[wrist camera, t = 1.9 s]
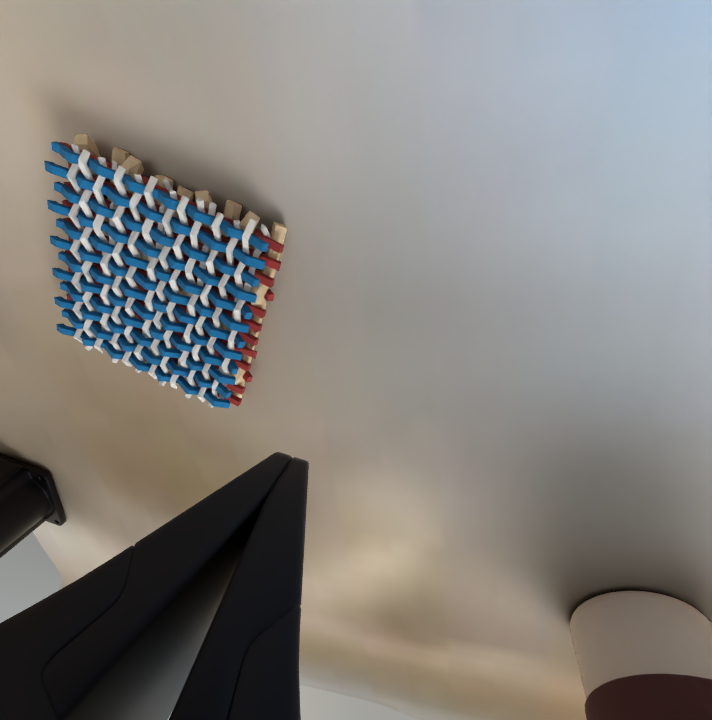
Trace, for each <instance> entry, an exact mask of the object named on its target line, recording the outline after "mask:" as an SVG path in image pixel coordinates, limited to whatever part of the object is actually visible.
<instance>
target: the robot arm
mask: <svg viewBox="0 0 712 720" xmlns="http://www.w3.org/2000/svg"><path fill="white" fill-rule="evenodd" d="M308 468H309V463H308V461H305V460H302V459H299V458H296V457H294V458H292V457H291V456H289V455H286V454H283V453H280V452H276V453H274V454H272V455H271V456H269V457H268V458H266V459H265V460H263V461H262V462H260V463H259V464H257V465H255V466H254V467H252V468H251V469H249V470H248V471H246V472H245V473H243V474H242V475H240V476H238V477H237V478H235V479H234V480H232V481H231V482H229V483H228V484H226V485H225V486H223V487H222V488H220V489H218V490H217V491H215V492H214V493H212V494H211V495H209V496H208V497H206V498H205V499H203V500H202V501H200V502H198V503H197V504H195V505H194V506H192V507H191V508H189V509H188V510H186V511H185V512H183V513H181V514H180V515H178V516H177V517H175V518H174V519H172V520H171V521H169V522H168V523H166V524H165V525H163V526H161V527H160V528H158V529H157V530H155V531H154V532H152V533H151V534H149V535H148V536H146V537H145V538H143V539H141V540H140V541H138V542H137V543H136V544H135V547H134V546H130V547H129V548H127V549H126V550H124V551H123V552H121V553H120V554H118V555H117V556H115V557H113V558H112V559H110V560H109V561H107V562H105V563H104V564H102V565H101V566H99V567H97V568H96V569H94V570H93V571H91V572H89V573H88V574H86V575H85V576H83V577H81V578H80V579H78V580H76V581H75V582H73V583H71V584H69V585H68V586H66V587H64V588H63V589H61V590H59V591H58V592H56V593H54V594H52V595H50V596H49V597H47V598H45V599H43V600H42V601H40V602H38V603H36V604H34V605H33V606H31V607H29V608H27V609H26V610H24V611H22V612H20V613H18V614H16V615H15V616H13V617H11V618H9V619H7V620H5V621H4V622H2V623H0V720H167V719H168V718H169V716H170V714H171V712H172V714H171V716H170V718H169V720H301V718H300V691H299V638H300V616H301V608H300V605H301V595H302V576H303V558H304V540H305V522H306V504H307V486H308ZM45 521H48V522H51V523H53V524H56V525H59V526H61V525H62V524H64V523H65V522H66V518H65V515H64V512H63V509H62V506H61V503H60V500H59V497H58V494H57V491H56V489H55V486H54V483H53V480H52V477H51V475H50V474H49V473H48V472H47V471H45V470H42V469H39V468H36V467H33V466H30V465H28V464H25V463H22V462H19V461H16V460H13V459H10V458H8V457H5V456H2V455H0V558H1V557H2V556H3V555H4V554H6V553H7V552H8V551H9V550H11V549H12V548H13V547H14V546H15V545H17V544H18V543H19V542H20V541H21V540H22V539H24V538H25V537H26V536H28V535H29V534H30V533H31V532H32V531H34V530H35V529H36V528H37V527H38V526H40V525H41V524H42V523H43V522H45ZM172 710H173V711H172Z"/></svg>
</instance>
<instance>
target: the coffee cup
mask: <svg viewBox="0 0 712 720" xmlns="http://www.w3.org/2000/svg"><path fill="white" fill-rule="evenodd" d="M570 632H571V636H572V640H573V644H574V649H575V653H576V657H577V661H578V665H579V669H580V674H581V678H582V682H583V686H584V690H585V694H586V699H587V700H586V703H585V712H586V718H587V720H712V624H711V622H710V621H709V620H708V619H707V618H706V617H705V616H704V615H703V614H702V613H700V612H699V611H698V610H697V609H695V608H694V607H692V606H690V605H689V604H687V603H685V602H683V601H680V600H678V599H676V598H673V597H670V596H666V595H662V594H658V593H652V592H645V591H619V592H611V593H607V594H602V595H598V596H596V597H594V598H591V599H589V600H587V601H585V602H584V603H583V604H581V605H580V606H579V607H578V608H577V609H576V610H575V611H574V613H573V615H572V617H571V621H570Z"/></svg>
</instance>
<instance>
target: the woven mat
mask: <svg viewBox="0 0 712 720" xmlns="http://www.w3.org/2000/svg"><path fill="white" fill-rule="evenodd" d="M51 144H52V150H53V151H55V152H57V153H59V154H60V155H61V156H62V157H63V158H64V159H65V160H67V161H68V168H69V169H68V168H65V167H62V166H59V165H56V164H55V163H53V162H48V161H44V162H45V170H46V171H48V172H50V173H52V174H54V175H57V176H60V177H63V178H66V179H69V181H70V182H64V184H63V183H60V182H55V183H54V190H55V191H58V192H60V193H61V194H62V195H63V196H64V197H65V198H66V199H67V200H63V201H62V203H63V204H59V203H58V202H56V201H52V200H47V202H48V209H50V210H52V211H54V212H56V213H59V214H62V215H65V216H68V217H70V218H63V219H61V218H59V219H56V226H57V227H59V228H61V229H63V230H64V231H65V232H66V233H67V235H68V236H69V241H68V240H64V239H61V238H59V237H58V236H50V241H51V244H53V245H54V246H56V247H59V248H62V249H66V251H65V252H63V251H61V252H60V253H58V257H59V259H60V260H62V261H64V262H66V264H67V265H68V267H69V272H67V271H63V270H62V269H60V268H52V270H53V275H54V276H55V277H57V278H59V279H63V280H66V281H67V282H66V281H63V282H61V283H60V289H62V290H65V291H67V293H68V294H67V300H66V299H64V298H63V297H54V298H55V304H57V305H58V306H60V307H63V308H65V309H64V310H63V311H62V316H63V317H66V318H68V319H69V321H70V322H71V324H72V325H73V326H74V328H73V327H68V326H66V325H64V324H56V325H57V330H58V331H59V332H60V333H62V334H65V335H70V336H74V337H73V338H75V339H77V340H78V341H80V342H81V343H83V345H87V346H86V348H85V349H87V350H89V351H90V350H91V348H92V347H93V346H94V347H95V348H96V349H98V350H99V351H100V352H101V353H103V352H102V349H101V348H105V350H106V351H107V352H108V354H109V355H110V356H111V358H112V359H113V360H112V362H114V363H117V361H118V360H119V359H122V361H123V362H124V363H125V364H126V365H127V366H132V365H131V363H132V364H133V365H134V367H135V368H136V370H135V372H137V373H141V371H147V372H148V374H150V375H151V376H152V377H153V378H154V379H158V381H160V382H159V384H160V385H162V386H164V385H165V383H166V382H170V385H171V387H172V388H176V389H177V385H176V383H178V384H179V385H180V386H181V388H182V389H183V390H184V391H185V392H186V393H187V394H186V395H185V397H187V398H189V399H190V397H191V395H197V397H198V398H199V399H200V400H201V401H202V402H204V401H205V398H206V399H207V400H208V401H209V404H208V406H209V407H213V406H214V407H222V408H229V405H230V403H232V404H234V405H236V406H239V405H240V403H241V400H242V399H241V398H242V395H243V392H244V390H245V387H244V385H245V381H246V382H250V381H251V380H252V375H251V374H250V372H249V371H248V370H249V369H250V367H251V364H250V363H251V359H252V358H254V359H255V357H256V354H257V351H254V348H255V345H257V342H258V339H259V338H257V337H258V334H259V331H260V330H261V327H262V324H261V323H262V319H263V317H264V316H265V313H266V310H265V308H266V300H267V301H273V298H274V294H273V293H272V291H271V290H270V289H269V287H272V286H273V283H274V275H275V271H276V270H277V271H279V268H280V265H281V261H279V257H280V253H282V251H283V247H284V245H283V242H284V239H285V235H286V231H287V227H286V226H285V225H283V224H280V223H277V222H274V223H273V227H272V230H271V234H269V232H268V229H267V227H266V226H264V225H263V224H262V225H261V230H262V232H263V233H262V232H260V231H259V230H258V229H257V228H256V227H257V224H258V222H259V220H260V217H258V216H257V215H255V214H254V213H252V212H251V211H249V212H248V213H247V214H246V216H245V217H244V218H243V220H242V221H241V222H240V220H239V218H240V214H241V209H242V206H241V205H240V204H239V203H236V202H234V201H230V200H226V204H225V209H224V213H223V214H222V213H219V212H218V213H216V212H215V211H216V206H217V205H216V204H215V203H213V201H212V199H211V197H210V195H209V192H208V190H206V191H195V196H196V203H195V202H193V201H192V200H193V196H194V192H191V191H189V190H187V189H185V188H183V187H181V186H178V189H177V192H176V191H174V190H173V180H172V179H170V178H168V177H167V176H162V175H156V176H155V177H153V176H151V177H150V179H148V178H147V177H146V176H143V175H141V174H142V173H143V172H144V169H143V166H142V163H141V161H139V160H138V159H136V158H135V157H133V156H131V155H130V156H129V152H127V151H124V150H122V149H119V148H117V147H114V148H113V150H112V161H111V163H109V162H107V161H106V160H105V158H102V157H100V154H99V152H98V149H97V146H96V145H95V143H94V142H93V141H92V140H91V138H90V137H89V136H88V134H76V136H75V139H74V143H73V145H69V144H67V143H62V142H59V143H58V142H51ZM69 162H70V163H69ZM71 163H72V164H71ZM106 178H109V179H110V181H109V182H107V181H105V179H106ZM103 195H106V196H107V197H108V199H107V200H106V199H104V197H103ZM126 207H128V208H129V211H128V210H126V209H125V208H126ZM187 214H188V215H189V216H190V217H191V218H192V219H193V220H195V222H194V221H193V220H192V219H191V218H190V217H189V216H188V215H187ZM188 236H190V238H188ZM238 240H239V243H238ZM127 244H128V245H127ZM262 251H263V252H265V255H264V254H262ZM233 256H234V257H235V258H236V259H238V261H237V260H236V259H235V258H234V257H233ZM256 268H258V269H260V271H257V270H255V269H256ZM233 276H234V277H233ZM225 289H226V290H227V291H228V292H227V291H226V290H225ZM78 292H79V293H78ZM229 292H230V293H229ZM265 299H266V300H265ZM66 308H67V309H66ZM96 337H97V339H96ZM81 338H82V339H81ZM180 339H181V340H180ZM155 355H156V356H155ZM129 361H130V362H131V363H130V362H129ZM145 362H147V363H145ZM169 371H170V373H169ZM229 372H230V373H229ZM196 386H197V387H196ZM227 388H228V389H230V390H231V391H229V390H228V389H227ZM204 397H205V398H204ZM218 397H219V399H218Z"/></svg>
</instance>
